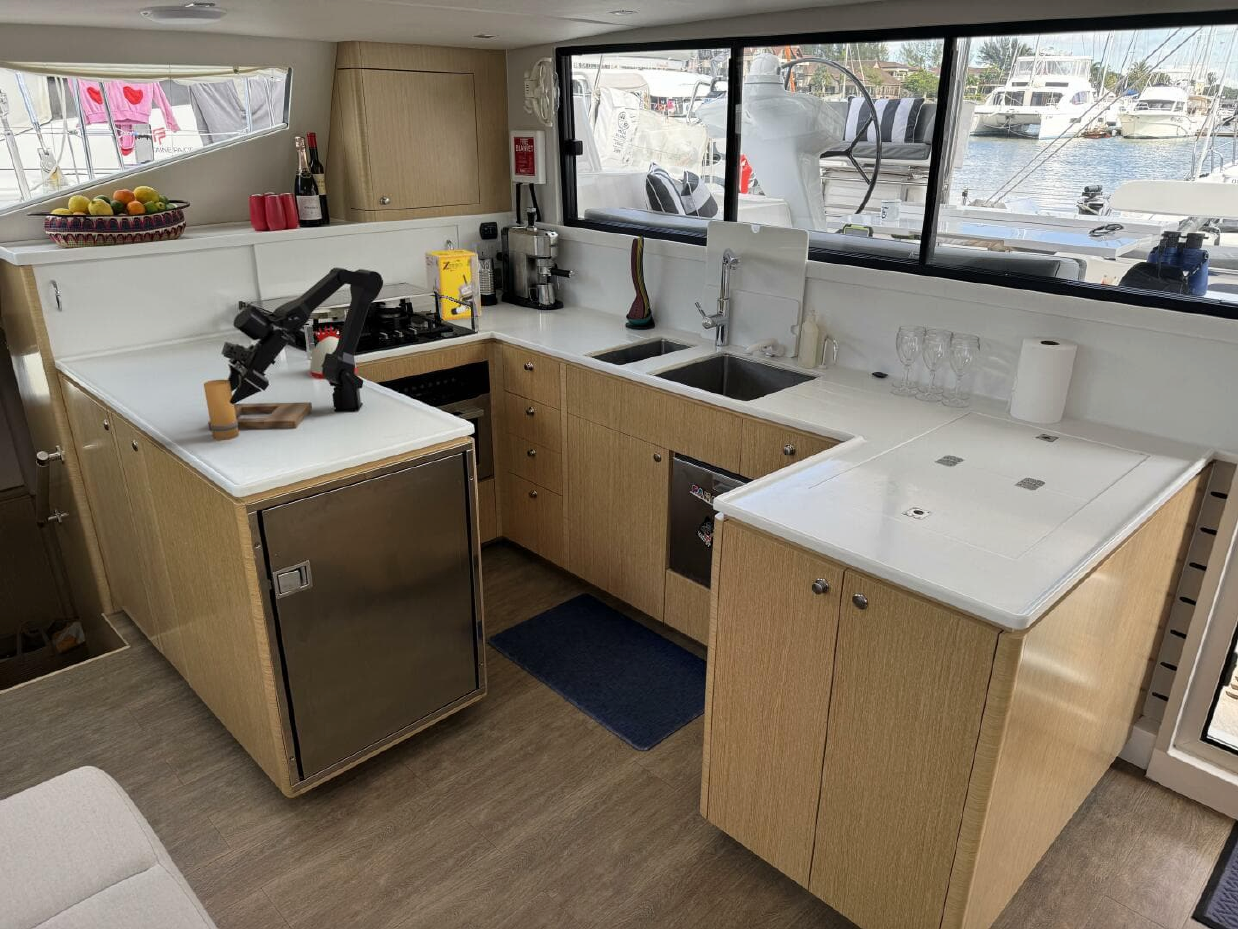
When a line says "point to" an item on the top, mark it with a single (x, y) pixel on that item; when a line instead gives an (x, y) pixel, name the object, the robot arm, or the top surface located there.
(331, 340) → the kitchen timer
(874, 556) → the top surface
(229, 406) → the orange round cylinder
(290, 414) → the wooden frame
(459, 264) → the packaging box
